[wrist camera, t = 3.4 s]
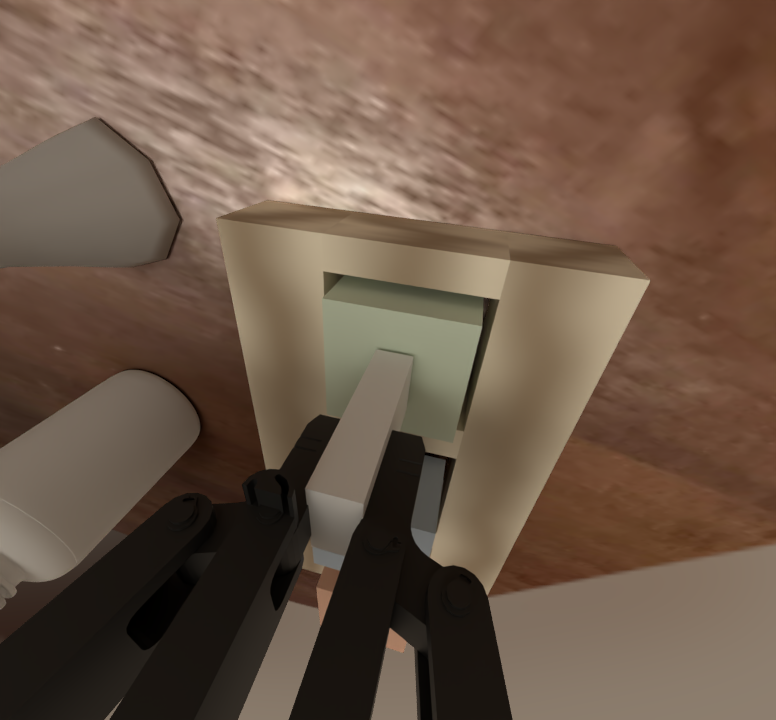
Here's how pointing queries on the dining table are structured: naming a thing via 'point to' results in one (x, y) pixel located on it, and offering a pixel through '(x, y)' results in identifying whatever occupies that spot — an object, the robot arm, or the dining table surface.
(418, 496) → the button slate
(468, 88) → the dining table surface
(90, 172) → the flask
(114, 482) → the pill bottle
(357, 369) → the button sage
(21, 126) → the dining table surface
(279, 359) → the panel
